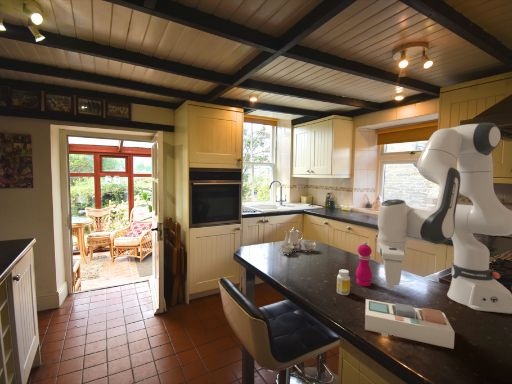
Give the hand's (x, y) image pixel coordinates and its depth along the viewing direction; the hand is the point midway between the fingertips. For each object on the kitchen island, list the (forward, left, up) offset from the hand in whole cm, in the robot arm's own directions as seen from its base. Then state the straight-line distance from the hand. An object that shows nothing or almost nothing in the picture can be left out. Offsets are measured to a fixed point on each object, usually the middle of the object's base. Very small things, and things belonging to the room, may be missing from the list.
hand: (390, 287), depth 89 cm
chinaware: (+51, -71, -13) cm, 88 cm away
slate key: (-4, +1, -9) cm, 10 cm away
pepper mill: (+9, -32, -13) cm, 36 cm away
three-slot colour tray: (-4, +2, -13) cm, 13 cm away
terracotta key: (-12, +1, -9) cm, 15 cm away
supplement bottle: (+17, -18, -13) cm, 28 cm away
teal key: (+4, +1, -10) cm, 11 cm away
